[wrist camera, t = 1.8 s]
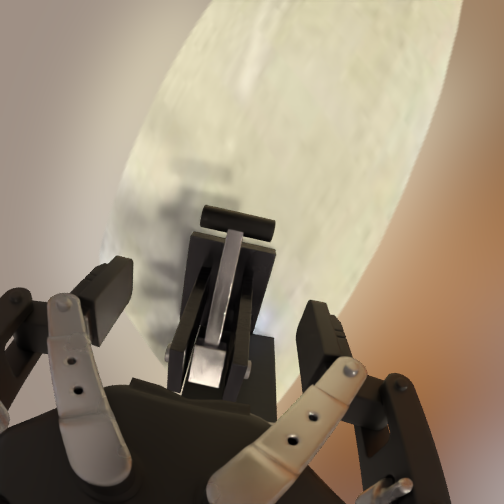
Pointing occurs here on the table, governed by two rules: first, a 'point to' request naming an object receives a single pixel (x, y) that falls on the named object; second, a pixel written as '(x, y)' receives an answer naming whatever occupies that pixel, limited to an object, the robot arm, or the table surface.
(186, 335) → the switch bracket
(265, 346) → the toaster body
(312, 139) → the table surface
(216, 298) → the switch lever
